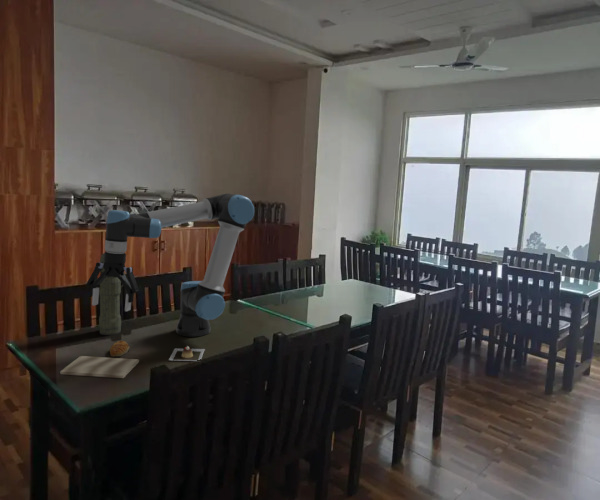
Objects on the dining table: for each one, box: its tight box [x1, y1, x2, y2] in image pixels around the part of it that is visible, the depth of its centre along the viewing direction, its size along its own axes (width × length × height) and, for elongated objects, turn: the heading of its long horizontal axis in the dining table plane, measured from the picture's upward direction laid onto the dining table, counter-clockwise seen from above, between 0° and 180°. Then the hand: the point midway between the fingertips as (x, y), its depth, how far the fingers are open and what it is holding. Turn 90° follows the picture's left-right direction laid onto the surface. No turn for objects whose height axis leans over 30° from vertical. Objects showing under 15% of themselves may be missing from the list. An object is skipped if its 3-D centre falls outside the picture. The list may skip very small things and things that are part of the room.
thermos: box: [93, 253, 124, 336], centre depth 199 cm, size 9×12×35 cm
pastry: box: [109, 340, 130, 358], centre depth 179 cm, size 9×7×4 cm
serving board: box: [59, 355, 140, 379], centre depth 165 cm, size 22×14×1 cm, turn 88°
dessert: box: [168, 345, 206, 362], centre depth 180 cm, size 12×12×5 cm
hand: (111, 307), depth 172 cm, fingers open, 13 cm apart
